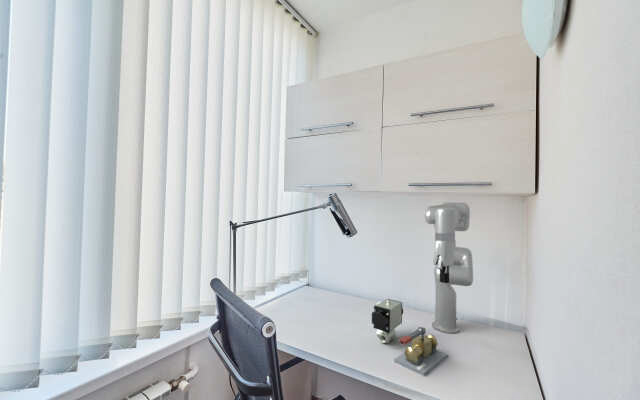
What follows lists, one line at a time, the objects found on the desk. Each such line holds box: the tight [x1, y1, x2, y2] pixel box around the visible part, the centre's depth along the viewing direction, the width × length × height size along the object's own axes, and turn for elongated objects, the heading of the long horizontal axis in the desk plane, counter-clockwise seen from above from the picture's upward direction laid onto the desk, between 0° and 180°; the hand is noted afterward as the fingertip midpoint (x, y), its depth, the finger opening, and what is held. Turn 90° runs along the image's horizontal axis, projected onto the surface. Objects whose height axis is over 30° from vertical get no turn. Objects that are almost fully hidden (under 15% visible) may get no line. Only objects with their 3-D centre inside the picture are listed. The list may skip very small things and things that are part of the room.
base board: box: [393, 349, 448, 377], centre depth 108 cm, size 20×12×1 cm, turn 133°
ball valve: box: [371, 298, 404, 344], centre depth 123 cm, size 18×8×18 cm, turn 141°
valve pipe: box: [403, 334, 438, 366], centre depth 108 cm, size 17×5×9 cm, turn 133°
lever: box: [398, 326, 427, 346], centre depth 104 cm, size 16×3×1 cm, turn 133°
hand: (444, 282), depth 113 cm, fingers closed
